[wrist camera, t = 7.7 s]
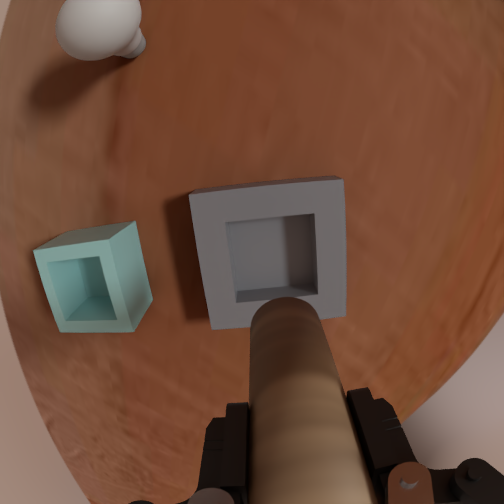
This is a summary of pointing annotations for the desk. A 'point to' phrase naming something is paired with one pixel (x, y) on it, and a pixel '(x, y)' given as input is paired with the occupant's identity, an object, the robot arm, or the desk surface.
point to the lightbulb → (100, 29)
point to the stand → (271, 246)
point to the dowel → (300, 414)
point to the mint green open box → (95, 279)
